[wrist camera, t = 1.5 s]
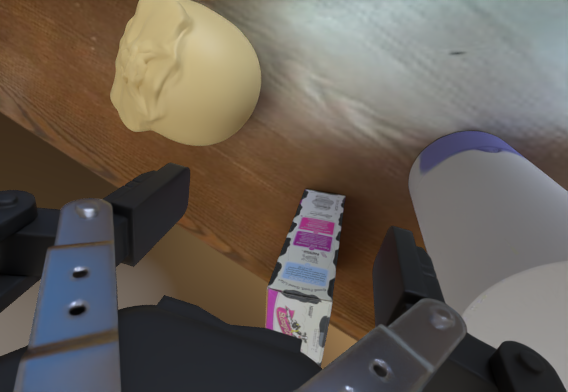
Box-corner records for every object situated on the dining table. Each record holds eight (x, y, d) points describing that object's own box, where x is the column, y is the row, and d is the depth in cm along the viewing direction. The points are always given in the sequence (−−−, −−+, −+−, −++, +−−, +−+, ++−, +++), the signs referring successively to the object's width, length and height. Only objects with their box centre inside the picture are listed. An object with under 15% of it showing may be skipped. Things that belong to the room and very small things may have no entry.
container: (403, 218, 36) (442, 395, 19) (414, 130, 32) (477, 253, 14) (504, 224, 34) (652, 428, 17) (530, 130, 30) (770, 274, 12)
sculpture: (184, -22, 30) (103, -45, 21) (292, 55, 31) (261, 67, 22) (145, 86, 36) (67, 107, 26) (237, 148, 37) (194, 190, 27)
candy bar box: (302, 187, 37) (264, 285, 23) (346, 193, 36) (336, 300, 22) (293, 264, 42) (259, 384, 28) (332, 271, 42) (317, 399, 27)
